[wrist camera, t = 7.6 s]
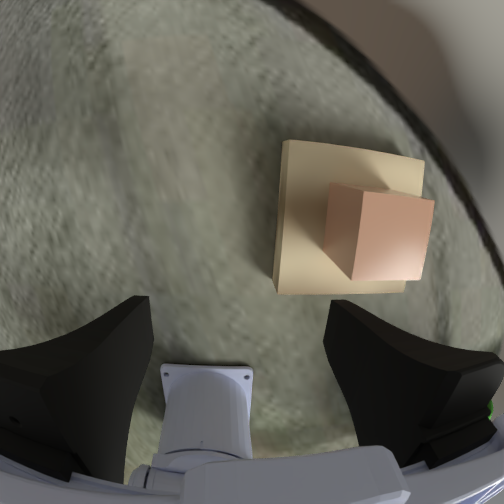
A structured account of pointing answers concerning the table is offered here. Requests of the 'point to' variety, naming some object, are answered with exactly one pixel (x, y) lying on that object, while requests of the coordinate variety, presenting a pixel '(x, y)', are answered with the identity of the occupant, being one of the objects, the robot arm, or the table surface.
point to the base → (315, 212)
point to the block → (377, 232)
